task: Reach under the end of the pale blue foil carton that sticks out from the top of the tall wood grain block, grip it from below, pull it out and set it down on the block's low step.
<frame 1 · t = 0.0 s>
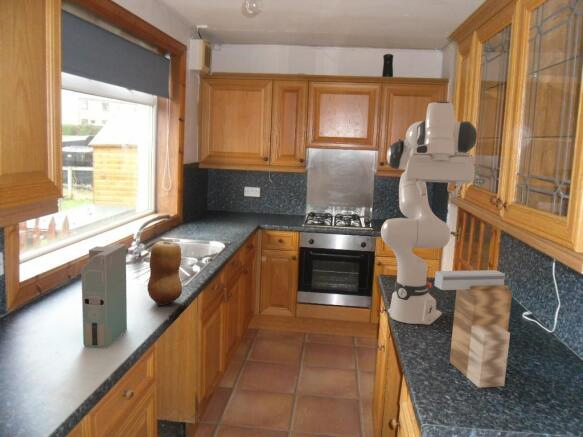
hand: (438, 196, 154), 52 cm above the countertop, tool tilted 20°, fingers open, 8 cm apart
foil carton: (468, 287, 152), point 26 cm above the countertop, touching tall wood grain block
device: (106, 338, 169), on the countertop
butternut squash: (164, 303, 204), on the countertop
tall wood grain block: (472, 368, 157), on the countertop
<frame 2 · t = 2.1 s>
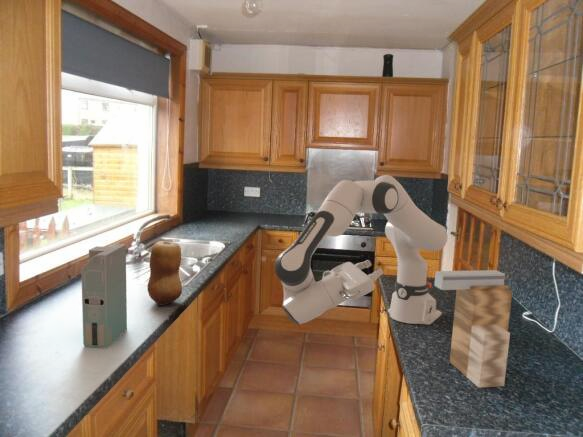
hand: (375, 266, 152), 31 cm above the countertop, tool pointing upward, fingers open, 8 cm apart
nothing on the countertop moved.
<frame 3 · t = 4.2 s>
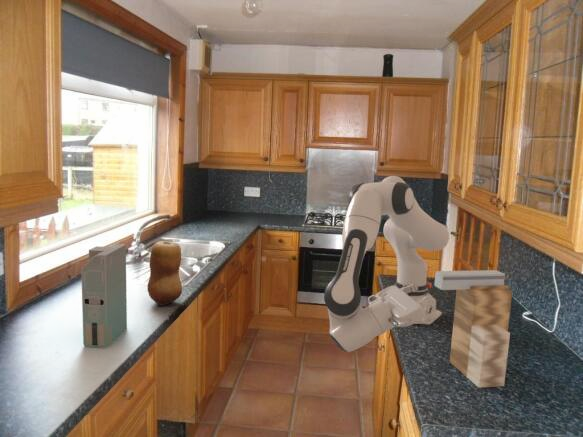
hand: (423, 290, 149), 25 cm above the countertop, tool pointing upward, fingers open, 8 cm apart
nothing on the countertop moved.
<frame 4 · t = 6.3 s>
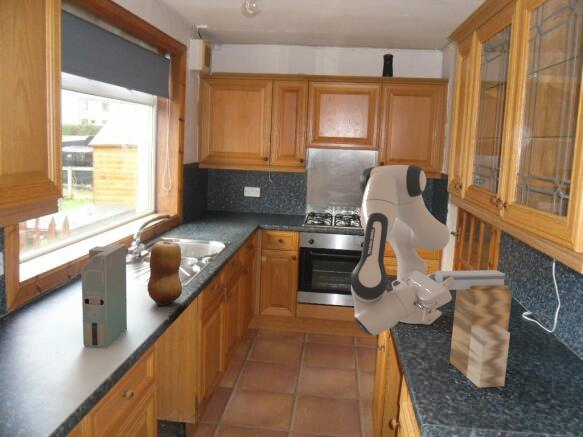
hand: (447, 275, 150), 30 cm above the countertop, tool pointing upward, fingers closed on foil carton, 4 cm apart
foil carton: (468, 286, 152), point 26 cm above the countertop, touching gripper, tall wood grain block
everything else where it was.
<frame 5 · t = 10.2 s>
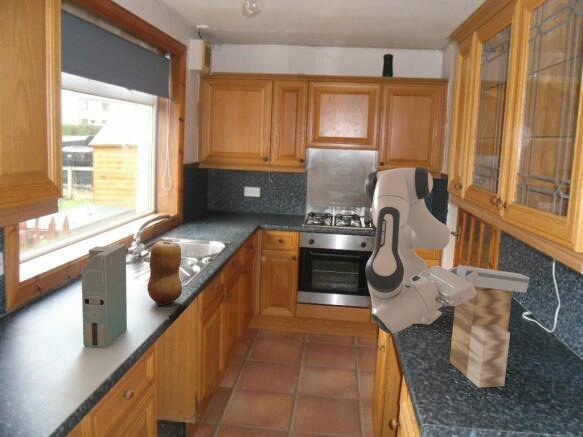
hand: (470, 269, 141), 34 cm above the countertop, tool pointing upward, fingers closed on foil carton, 4 cm apart
foil carton: (490, 286, 143), point 29 cm above the countertop, tilted 8°, touching gripper
everything else where it was.
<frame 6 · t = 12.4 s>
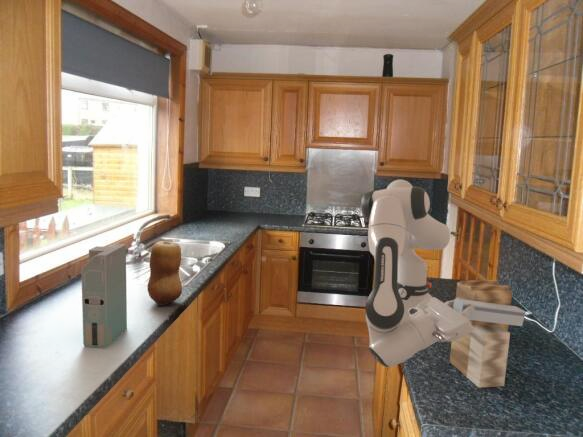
hand: (467, 303, 143), 24 cm above the countertop, tool pointing upward, fingers closed on foil carton, 4 cm apart
foil carton: (486, 319, 145), point 19 cm above the countertop, tilted 9°, touching gripper
everything else where it was.
when the fingers open (20 cm above the countertop, at t = 13.9 s): foil carton stays where it is, resting on tall wood grain block.
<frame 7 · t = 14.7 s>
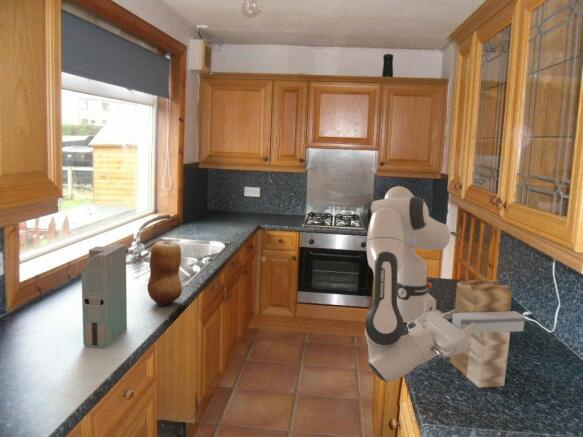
hand: (465, 318, 143), 20 cm above the countertop, tool pointing upward, fingers open, 8 cm apart
foil carton: (487, 329, 145), point 16 cm above the countertop, touching tall wood grain block
everything else where it was.
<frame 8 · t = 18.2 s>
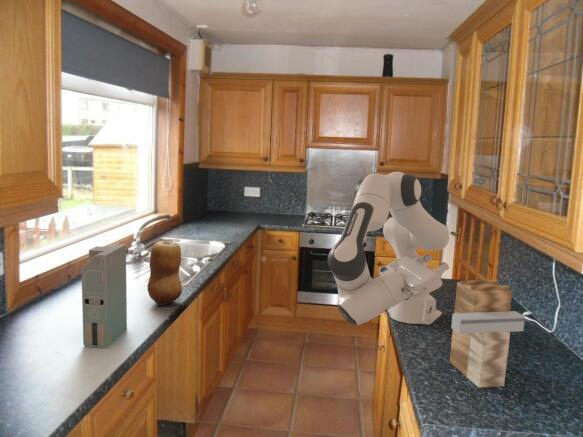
hand: (438, 260, 139), 36 cm above the countertop, tool pointing upward, fingers open, 8 cm apart
nothing on the countertop moved.
at the end: foil carton inside the target area on the tall wood grain block (0.4 cm from its centre), point 16.0 cm above the tall wood grain block's base; foil carton tilted 0°; the gripper is holding nothing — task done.
